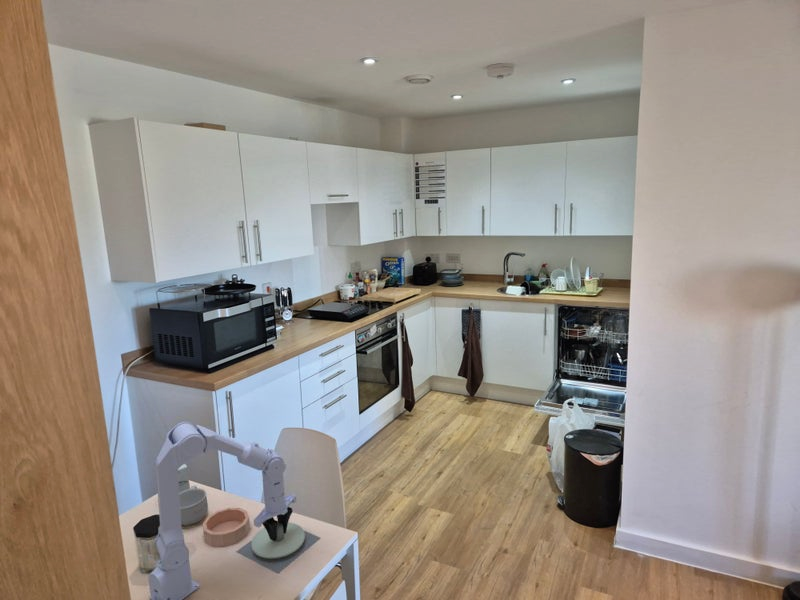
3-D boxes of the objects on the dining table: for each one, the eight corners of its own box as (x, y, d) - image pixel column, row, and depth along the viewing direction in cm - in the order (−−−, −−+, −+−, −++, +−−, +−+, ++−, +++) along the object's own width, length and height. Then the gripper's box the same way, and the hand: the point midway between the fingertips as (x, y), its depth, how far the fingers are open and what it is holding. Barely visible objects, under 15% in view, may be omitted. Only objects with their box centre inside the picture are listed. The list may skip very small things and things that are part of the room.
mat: (278, 575, 138) (277, 573, 137) (236, 553, 147) (236, 551, 147) (320, 539, 151) (320, 537, 151) (280, 521, 161) (280, 519, 161)
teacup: (201, 530, 158) (198, 506, 156) (166, 530, 158) (163, 507, 157) (217, 503, 172) (215, 481, 170) (185, 504, 172) (182, 482, 170)
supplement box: (169, 509, 169) (164, 474, 167) (162, 500, 175) (157, 466, 172) (192, 500, 174) (187, 466, 172) (184, 491, 180) (180, 458, 177)
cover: (277, 565, 138) (276, 549, 138) (240, 546, 147) (238, 531, 146) (315, 534, 151) (314, 520, 150) (279, 519, 159) (278, 505, 158)
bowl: (223, 553, 147) (221, 539, 146) (195, 538, 154) (193, 525, 153) (258, 528, 157) (257, 515, 157) (230, 516, 164) (229, 503, 164)
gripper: (264, 510, 138) (268, 555, 140) (302, 484, 149) (305, 526, 152) (246, 502, 141) (251, 546, 144) (285, 478, 153) (288, 519, 156)
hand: (278, 535), depth 148 cm, fingers closed on cover, 3 cm apart
